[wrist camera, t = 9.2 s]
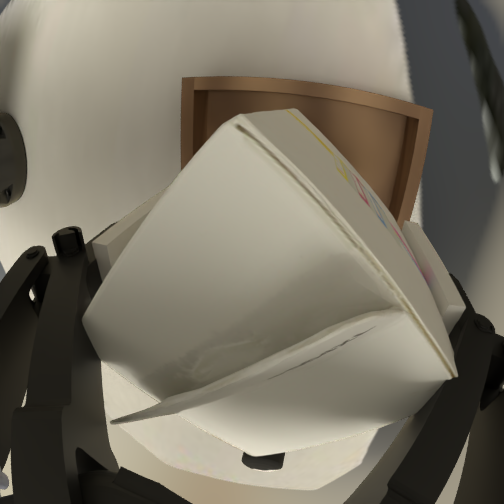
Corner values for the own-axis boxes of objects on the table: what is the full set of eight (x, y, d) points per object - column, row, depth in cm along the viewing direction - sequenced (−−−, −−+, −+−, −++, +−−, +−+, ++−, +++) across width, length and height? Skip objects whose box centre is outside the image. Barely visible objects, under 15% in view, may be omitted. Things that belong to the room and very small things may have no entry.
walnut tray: (200, 233, 29) (185, 253, 25) (202, 79, 21) (182, 77, 18) (379, 262, 26) (386, 287, 23) (415, 107, 18) (433, 110, 15)
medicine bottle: (247, 394, 42) (228, 458, 32) (289, 392, 40) (275, 461, 30) (263, 414, 45) (248, 473, 35) (301, 412, 42) (291, 475, 32)
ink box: (290, 292, 19) (243, 496, 8) (195, 206, 17) (40, 377, 6) (396, 215, 15) (482, 447, 4) (294, 102, 13) (153, 112, 2)
